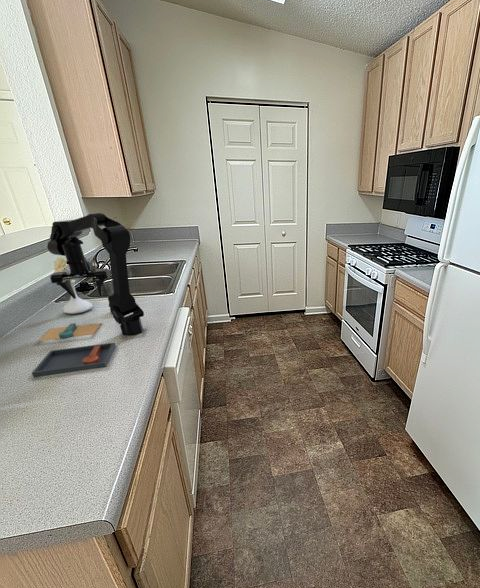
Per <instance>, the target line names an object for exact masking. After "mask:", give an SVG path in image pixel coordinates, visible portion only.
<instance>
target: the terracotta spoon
mask: <svg viewBox="0 0 480 588" xmlns="http://www.w3.org/2000/svg"><path fill="white" fill-rule="evenodd" d="M101 352H102V349H101V346H94V348H93V350H92V351H91V353H90V355H89V356H88V357H86V358H84V359H83V360H82V361H83V364H92V363H99V362H100V360H99V355H100V353H101Z"/></svg>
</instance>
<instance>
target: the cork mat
mask: <svg viewBox="0 0 480 588" xmlns="http://www.w3.org/2000/svg"><path fill="white" fill-rule="evenodd" d="M101 325H102V323H92V324H84V325H76V326H77V328H76V329H75V331H74V332H73V335H74V336H73V337H72V338H78V337H85V336H86V337H87V336H94V335H95V334H96V333H97V331H98V329H99V328H100V326H101ZM67 327H68V326H66V327H65V326H64V327H58V328H57V327H56V328H50V329H49V330H48V331H47V332H46V333H45V334H44V335H43V336H42V337H41V338H40V339H39V342H44V341H52V340H61V339H60V337H59V335H58V334H59V333H60V332H63V331H64V330H65V329H66V328H67Z"/></svg>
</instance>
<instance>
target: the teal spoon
mask: <svg viewBox="0 0 480 588" xmlns="http://www.w3.org/2000/svg"><path fill="white" fill-rule="evenodd" d="M77 326H78V325H77V323H75V322H73V323H72V322H71V323H69V325H68V326H66V327H67V328H66V329H65V330H64V331H63V332H60V333H59V334H58V335H59V337H60V339H59V340H66V339H71V338H74V337H73V336H74V335H73V332H74V331H75V329H76V328H77Z"/></svg>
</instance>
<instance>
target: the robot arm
mask: <svg viewBox="0 0 480 588" xmlns="http://www.w3.org/2000/svg"><path fill="white" fill-rule="evenodd" d="M103 226H104V227H103ZM101 227H103V228H101ZM91 229H93V230H92V231H93V234H94V236H95V237H96V238H98V239H99V240H100V241H101V245H102V247H103V248H104V250H105V251H106V252H107V253H108V257H109V265H110V269H109V268H106V267H105V268H96V270H95V271H94V269H93V264H92V262H90V261H88V260H87V258H86V257H85V255H84V251H83V248H82V245H84V242H83V240H81V239H80V238H78V237H79V236H80V235H82V234H83V232H85V231H87V230H91ZM50 231H51V232H50V235H49V239H50V240H49V241H48V242H47V246H46V248H47V250H48V251H49V253H50V254H51V255H54V256H62V257H65V260H67V261H66V263H67V264H66V265H67V266H68V268H69V271H70V272H69V274H68V272H67V271H65V272H55V273H52V274H51V275H50V276H49V279H50V282H51V284H56V286H60V287H61V288H62V289H63V290H65V291H66V292H67V293H68V294H69V296H70V295H71V296H72V297H73V298H74V299H75V298H76V296H75V293H74V291H73V288H72V286H71V283H70V279H74V280H75V279H85V278H95V279H96V280H95V284H96V288H97V291H98V294H99V297H103V289H104V282H105V281H106V280H107V279H109V278H110V277H111V279H112V280H111V281H112V288H113V294H110V295H108V297H107V301H108V307H109V311H110V313H111V315H112V317H113V319H114V320H115V322H116V323H118V325H119V328H120V330H121V335H122V336H128V337H132V336H137V335H140V334H143V332H144V327H143V323H142V320H141V318H142V317H144V316H145V311H144V310H143V309H142V308H141V307H140V306H139V305H138V303H137V302H136V298H135V296H134V295H132V293H131V292H130V282H129V273H128V261H127V253H128V251H129V249H130V247H131V234H130V231H129V229H128V228H127V227H125V226H124V225H123V224H121V223H120V222H119V221H116V220H115V219H112V218H110V217H108V216H107V215H106V214H104V213H102V212H94V213H88V214H87V215H84V216H81V217H78V218H74V219H67V220H58V221H53V222H52V224H51V230H50ZM71 296H70V297H71Z"/></svg>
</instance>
